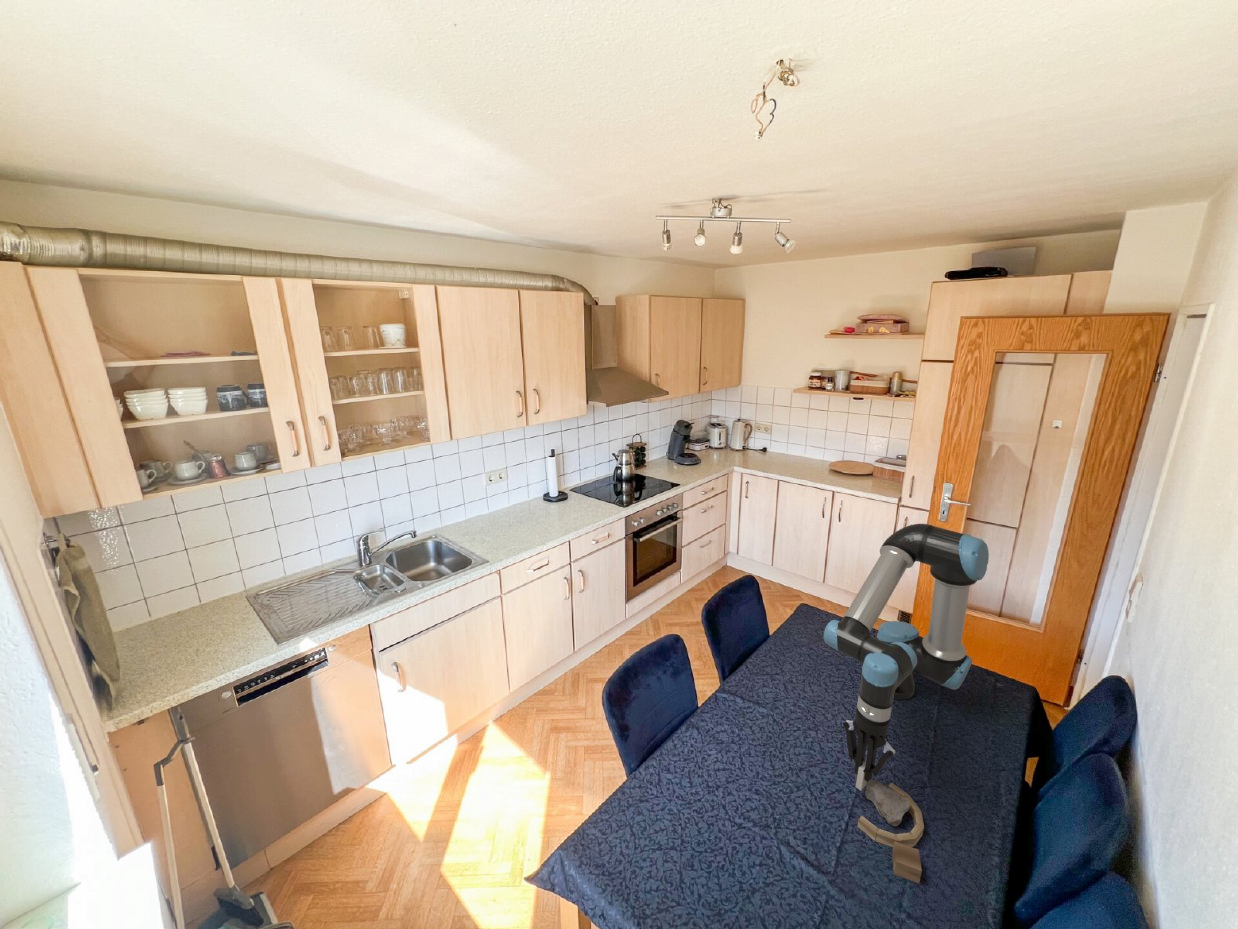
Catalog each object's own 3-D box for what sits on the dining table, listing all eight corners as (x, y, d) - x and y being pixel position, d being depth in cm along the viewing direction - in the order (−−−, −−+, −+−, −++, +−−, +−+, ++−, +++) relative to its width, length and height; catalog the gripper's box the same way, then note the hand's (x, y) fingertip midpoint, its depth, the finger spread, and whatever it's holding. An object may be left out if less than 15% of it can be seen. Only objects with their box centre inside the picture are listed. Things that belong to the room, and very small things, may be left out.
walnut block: (891, 854, 116) (894, 841, 115) (915, 862, 114) (918, 850, 113) (893, 874, 111) (896, 861, 110) (918, 884, 109) (921, 871, 108)
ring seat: (890, 790, 132) (891, 782, 131) (933, 820, 123) (935, 813, 123) (857, 826, 122) (858, 819, 121) (902, 862, 114) (903, 854, 113)
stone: (896, 834, 120) (899, 815, 119) (857, 805, 128) (859, 787, 126) (910, 814, 125) (913, 796, 123) (872, 787, 133) (874, 770, 131)
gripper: (840, 704, 126) (830, 776, 132) (892, 736, 116) (878, 813, 122) (855, 691, 130) (845, 762, 136) (907, 721, 120) (892, 796, 126)
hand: (860, 786), depth 129 cm, fingers closed
